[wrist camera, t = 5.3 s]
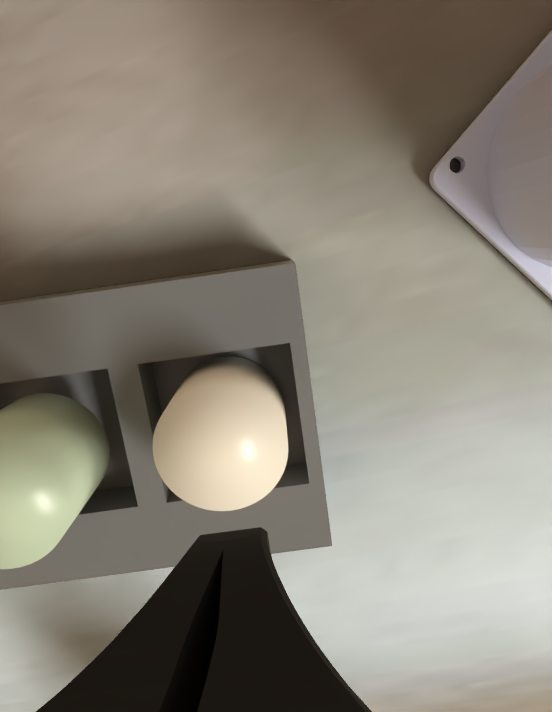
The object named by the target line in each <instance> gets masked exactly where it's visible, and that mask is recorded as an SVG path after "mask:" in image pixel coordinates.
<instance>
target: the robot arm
mask: <svg viewBox="0 0 552 712" xmlns="http://www.w3.org/2000/svg"><path fill="white" fill-rule="evenodd" d="M453 158H456V159H458V160H459V161H460V163H461V168H460V170H459V172H458V173H454V172H452V171H451V169H450V162H451V160H452V159H453ZM429 181H430V185H431V187H432V188H433V190H434V191H436V192H437V193H438V194H439V195H440V196H441V197H442V198H443V199H444V200H445V201H446V202H447V203H448V204H449V205H450V206H452V207H453V208H454V209H455V210H456V211H457V212H458V213H459V214H460V215H461V216H462V217H463V218H464V219H465V220H467V221H468V222H469V223H470V224H471V225H472V226H473V227H474V228H475V229H476V230H477V231H478V232H479V233H480V234H481V235H483V236H484V237H485V238H486V239H487V240H488V241H489V242H490V243H491V244H492V245H493V246H494V247H495V248H496V249H497V250H499V251H500V252H501V253H502V254H503V255H504V256H505V257H506V258H507V259H508V260H509V261H510V262H511V263H512V264H514V265H515V266H516V267H517V268H518V269H519V270H520V271H521V272H522V273H523V274H524V275H525V276H526V277H527V278H528V279H530V280H531V281H532V282H533V283H534V284H535V285H536V286H537V287H538V288H539V289H540V290H541V291H542V292H543V293H544V294H546V295H547V296H548V297H549V298H550V299H551V300H552V30H551V31H550V32H549V33H548V35H547V36H546V37H545V38H544V39H543V40H542V42H541V43H540V44H539V45H538V46H537V47H536V49H535V50H534V51H533V52H532V53H531V54H530V56H529V57H528V58H527V59H526V60H525V61H524V63H523V64H522V65H521V66H520V67H519V68H518V70H517V71H516V72H515V73H514V74H513V75H512V77H511V78H510V79H509V80H508V81H507V82H506V84H505V85H504V86H503V87H502V88H501V89H500V91H499V92H498V93H497V94H496V95H495V96H494V98H493V99H492V100H491V101H490V102H489V103H488V105H487V106H486V107H485V108H484V109H483V110H482V112H481V113H480V114H479V115H478V116H477V117H476V119H475V120H474V121H473V122H472V123H471V124H470V126H469V127H468V128H467V129H466V130H465V131H464V133H463V134H462V135H461V136H460V137H459V138H458V140H457V141H456V142H455V143H454V144H453V145H452V147H451V148H450V149H449V150H448V151H447V152H446V154H445V155H444V156H443V157H442V158H441V159H440V161H439V162H438V163H437V164H436V165H435V166H434V168H433V169H432V171H431V173H430V177H429ZM36 712H372V711H371V710H370V709H369V708H368V707H367V706H366V705H365V704H364V703H363V701H362V700H361V699H360V698H359V697H358V696H357V695H356V694H355V693H354V691H353V690H352V689H351V688H350V687H349V686H348V685H347V683H346V682H345V681H344V680H343V678H342V677H341V676H340V675H339V673H338V672H337V671H336V669H335V668H334V667H333V666H332V664H331V663H330V662H329V660H328V659H327V658H326V656H325V655H324V653H323V652H322V651H321V649H320V648H319V646H318V645H317V644H316V642H315V641H314V639H313V638H312V636H311V635H310V633H309V631H308V630H307V628H306V627H305V625H304V623H303V622H302V620H301V618H300V617H299V615H298V613H297V611H296V610H295V608H294V606H293V604H292V603H291V601H290V599H289V597H288V595H287V593H286V591H285V589H284V587H283V584H282V582H281V580H280V578H279V576H278V574H277V571H276V569H275V566H274V564H273V561H272V557H271V551H270V544H269V538H268V532H267V531H266V530H264V529H263V528H262V527H258V528H250V529H243V530H235V531H227V532H220V533H212V534H204V535H200V536H199V537H198V538H197V539H196V541H195V542H194V543H193V544H192V546H191V547H190V548H189V549H188V551H187V552H186V553H185V555H184V556H183V557H182V559H181V560H180V561H179V563H178V564H177V565H176V566H175V568H174V569H173V570H172V572H171V573H170V574H169V575H168V577H167V578H166V579H165V581H164V582H163V583H162V584H161V586H160V587H159V588H158V589H157V590H156V592H155V593H154V594H153V595H152V597H151V598H150V599H149V600H148V602H147V603H146V604H145V605H144V606H143V608H142V609H141V610H140V611H139V612H138V613H137V614H136V615H135V616H134V618H133V619H132V620H131V621H130V622H129V623H128V624H127V625H126V627H125V628H124V629H123V630H122V631H121V632H120V633H119V634H118V635H117V637H116V638H115V639H114V640H113V641H112V642H111V643H110V644H109V645H108V646H107V647H106V648H105V649H104V650H103V651H102V652H101V653H100V654H99V655H98V656H97V657H96V658H95V659H94V660H93V661H92V662H91V663H90V664H89V665H88V666H87V667H86V668H85V669H84V670H83V671H82V672H81V673H80V674H78V675H77V676H76V677H75V678H74V679H73V680H72V681H71V682H70V683H69V684H68V685H67V686H66V687H65V688H63V689H62V690H61V691H60V692H59V693H58V694H57V695H56V696H54V697H53V698H52V699H51V700H50V701H48V702H47V703H46V704H45V705H44V706H42V707H41V708H40V709H39V710H37V711H36Z"/></svg>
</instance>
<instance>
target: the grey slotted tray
mask: <svg viewBox="0 0 552 712" xmlns="http://www.w3.org/2000/svg"><path fill="white" fill-rule="evenodd" d="M226 356H231V357H240V358H244V359H248V360H250V361H253V362H255V363H257V364H258V365H260V366H262V367H263V368H264V369H266V370H267V371H268V372H269V373H270V374H271V375H272V376H273V377H274V379H275V380H276V382H277V383H278V385H279V387H280V389H281V392H282V394H283V398H284V403H285V414H286V426H287V437H288V459H287V464H286V467H285V470H284V473H283V475H282V476H281V478H280V480H279V482H278V483H277V484H276V486H275V487H274V488H273V489H272V490H271V491H270V493H268V494H267V495H266V496H265V497H264V498H262V499H261V500H259V501H258V502H256V503H254V504H252V505H250V506H247V507H244V508H241V509H237V510H232V511H212V510H206V509H202V508H199V507H196V506H194V505H191V504H189V503H187V502H186V501H184V500H182V499H181V498H179V497H178V496H177V495H175V494H174V493H173V492H172V491H171V490H170V489H169V488H168V486H167V485H166V484H165V483H164V481H163V480H162V478H161V476H160V475H159V473H158V470H157V468H156V465H155V462H154V457H153V436H154V432H155V428H156V425H157V423H158V421H159V419H160V417H161V415H162V414H163V412H164V410H165V409H166V407H167V406H168V404H169V402H170V401H171V399H172V398H173V396H174V394H175V393H176V391H177V390H178V388H179V386H180V385H181V383H182V382H183V380H184V378H185V377H186V376H187V375H188V374H189V373H190V372H191V371H192V370H193V369H194V368H195V367H197V366H198V365H200V364H201V363H203V362H205V361H208V360H211V359H214V358H218V357H226ZM38 393H52V394H58V395H62V396H65V397H68V398H71V399H73V400H75V401H77V402H79V403H80V404H82V405H83V406H85V407H86V408H87V409H89V410H90V411H91V412H92V413H93V414H94V415H95V416H96V418H97V419H98V420H99V421H100V423H101V425H102V426H103V428H104V430H105V432H106V435H107V438H108V441H109V447H110V460H109V465H108V469H107V472H106V474H105V476H104V478H103V479H102V481H101V483H100V484H99V485H98V487H97V488H96V490H95V491H94V493H93V494H92V495H91V497H90V498H89V500H88V501H87V503H86V504H85V505H84V507H83V508H82V510H81V511H80V513H79V514H78V515H77V517H76V518H75V520H74V521H73V523H72V524H71V526H70V527H69V528H68V530H67V531H66V533H65V534H64V536H63V537H62V538H61V540H60V541H59V543H58V544H57V545H56V546H55V547H54V549H53V550H52V551H51V552H49V553H48V554H47V555H46V556H44V557H43V558H41V559H40V560H38V561H36V562H34V563H32V564H29V565H26V566H23V567H19V568H14V569H0V590H1V589H8V588H16V587H23V586H31V585H39V584H46V583H54V582H61V581H69V580H76V579H84V578H92V577H99V576H107V575H114V574H122V573H130V572H137V571H145V570H152V569H160V568H167V567H175V566H176V565H177V564H178V563H179V561H180V560H181V559H182V557H183V556H184V555H185V553H186V552H187V551H188V549H189V548H190V547H191V546H192V544H193V543H194V542H195V541H196V539H197V538H198V537H199V536H200V535H204V534H212V533H220V532H227V531H235V530H243V529H250V528H258V527H262V528H263V529H264V530H266V531H267V532H268V538H269V544H270V551H271V554H273V553H281V552H289V551H296V550H304V549H311V548H319V547H327V546H332V541H331V533H330V525H329V518H328V510H327V502H326V495H325V487H324V479H323V472H322V464H321V456H320V449H319V441H318V433H317V426H316V418H315V411H314V403H313V395H312V388H311V380H310V372H309V365H308V357H307V349H306V342H305V334H304V326H303V319H302V311H301V303H300V296H299V288H298V280H297V273H296V265H295V262H294V261H293V260H288V261H281V262H274V263H267V264H260V265H253V266H246V267H239V268H232V269H225V270H218V271H211V272H204V273H197V274H190V275H183V276H176V277H169V278H162V279H155V280H148V281H141V282H134V283H128V284H121V285H114V286H107V287H100V288H93V289H86V290H79V291H72V292H65V293H58V294H51V295H44V296H37V297H30V298H23V299H16V300H9V301H2V302H0V410H1V409H3V408H4V407H6V406H7V405H9V404H11V403H12V402H14V401H16V400H18V399H20V398H22V397H25V396H27V395H32V394H38Z"/></svg>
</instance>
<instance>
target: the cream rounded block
mask: <svg viewBox="0 0 552 712" xmlns="http://www.w3.org/2000/svg"><path fill="white" fill-rule="evenodd" d="M153 457H154V462H155V465H156V468H157V470H158V473H159V475H160V476H161V478H162V480H163V481H164V483H165V484H166V485H167V486H168V488H169V489H170V490H171V491H172V492H173V493H174V494H175V495H177V496H178V497H179V498H181V499H182V500H184V501H186V502H187V503H189V504H191V505H194V506H196V507H199V508H202V509H206V510H212V511H232V510H237V509H241V508H244V507H247V506H250V505H252V504H254V503H256V502H258V501H259V500H261V499H262V498H264V497H265V496H266V495H267V494H268V493H270V491H271V490H272V489H273V488H274V487H275V486H276V484H277V483H278V482H279V480H280V478H281V476H282V475H283V473H284V470H285V467H286V464H287V459H288V437H287V426H286V414H285V403H284V398H283V394H282V392H281V389H280V387H279V385H278V383H277V382H276V380H275V379H274V377H273V376H272V375H271V374H270V373H269V372H268V371H267V370H266V369H264V368H263V367H262V366H260V365H258V364H257V363H255V362H253V361H250V360H248V359H244V358H240V357H231V356H226V357H218V358H214V359H211V360H208V361H205V362H203V363H201V364H200V365H198V366H197V367H195V368H194V369H193V370H192V371H191V372H190V373H189V374H188V375H187V376H186V377H185V378H184V380H183V382H182V383H181V385H180V386H179V388H178V390H177V391H176V393H175V394H174V396H173V398H172V399H171V401H170V402H169V404H168V406H167V407H166V409H165V410H164V412H163V414H162V415H161V417H160V419H159V421H158V423H157V425H156V428H155V432H154V436H153Z"/></svg>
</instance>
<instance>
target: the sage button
mask: <svg viewBox="0 0 552 712" xmlns="http://www.w3.org/2000/svg"><path fill="white" fill-rule="evenodd" d="M109 460H110V447H109V441H108V438H107V435H106V432H105V430H104V428H103V426H102V425H101V423H100V421H99V420H98V419H97V418H96V416H95V415H94V414H93V413H92V412H91V411H90V410H89V409H87V408H86V407H85V406H83V405H82V404H80V403H79V402H77V401H75V400H73V399H71V398H68V397H65V396H62V395H58V394H52V393H38V394H32V395H27V396H25V397H22V398H20V399H18V400H16V401H14V402H12V403H11V404H9V405H7V406H6V407H4V408H3V409H1V410H0V569H14V568H19V567H23V566H26V565H29V564H32V563H34V562H36V561H38V560H40V559H41V558H43V557H44V556H46V555H47V554H48V553H49V552H51V551H52V550H53V549H54V547H55V546H56V545H57V544H58V543H59V541H60V540H61V538H62V537H63V536H64V534H65V533H66V531H67V530H68V528H69V527H70V526H71V524H72V523H73V521H74V520H75V518H76V517H77V515H78V514H79V513H80V511H81V510H82V508H83V507H84V505H85V504H86V503H87V501H88V500H89V498H90V497H91V495H92V494H93V493H94V491H95V490H96V488H97V487H98V485H99V484H100V483H101V481H102V479H103V478H104V476H105V474H106V472H107V469H108V465H109Z"/></svg>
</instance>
